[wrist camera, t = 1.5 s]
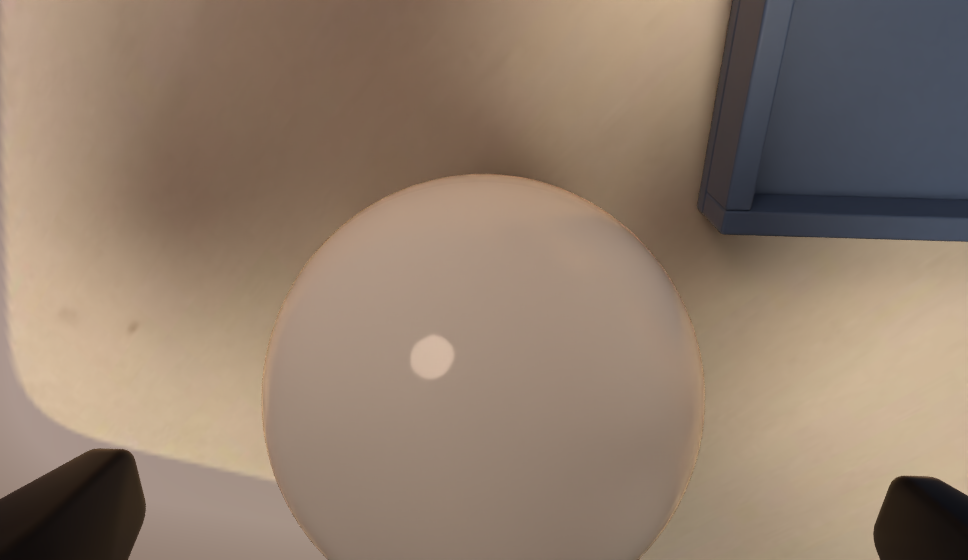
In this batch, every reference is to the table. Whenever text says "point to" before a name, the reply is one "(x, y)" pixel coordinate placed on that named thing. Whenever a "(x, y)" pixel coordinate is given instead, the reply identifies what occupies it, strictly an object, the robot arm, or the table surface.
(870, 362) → the table surface
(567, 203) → the lightbulb
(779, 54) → the blue tray
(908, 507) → the robot arm
